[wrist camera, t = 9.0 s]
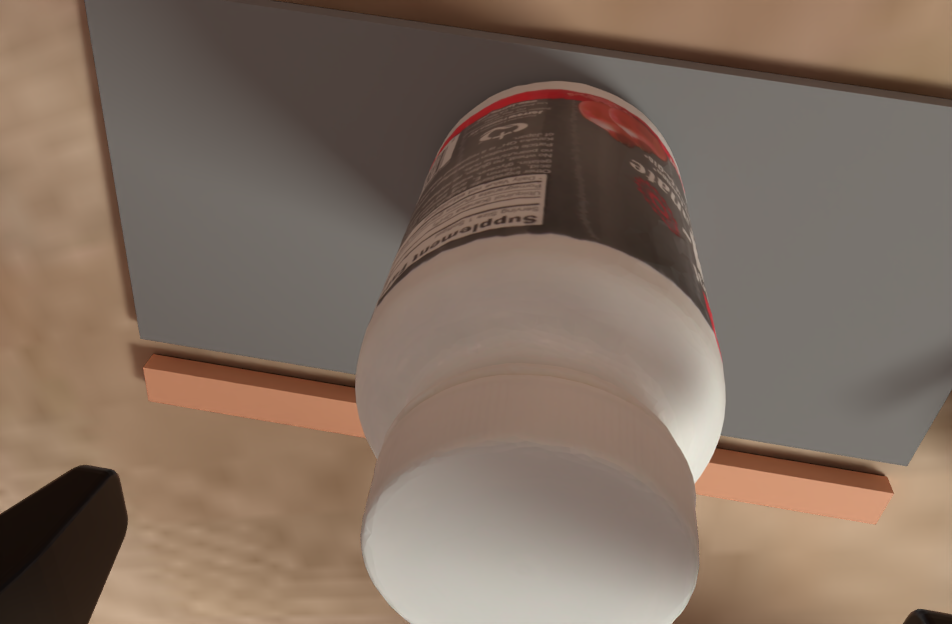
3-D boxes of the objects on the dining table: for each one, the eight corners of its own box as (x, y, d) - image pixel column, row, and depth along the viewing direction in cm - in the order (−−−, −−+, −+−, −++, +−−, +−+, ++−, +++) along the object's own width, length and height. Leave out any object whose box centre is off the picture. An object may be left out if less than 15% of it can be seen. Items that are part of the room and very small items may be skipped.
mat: (901, 452, 21) (906, 466, 20) (149, 327, 22) (140, 338, 21) (1090, 119, 16) (1103, 129, 15) (93, -26, 16) (80, -21, 16)
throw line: (869, 507, 22) (875, 524, 21) (158, 387, 23) (148, 401, 22) (887, 476, 21) (893, 493, 21) (153, 353, 22) (143, 367, 22)
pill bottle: (727, 229, 17) (846, 635, 9) (522, 335, 20) (476, 736, 12) (593, 16, 15) (597, 307, 7) (380, 163, 17) (200, 510, 9)
